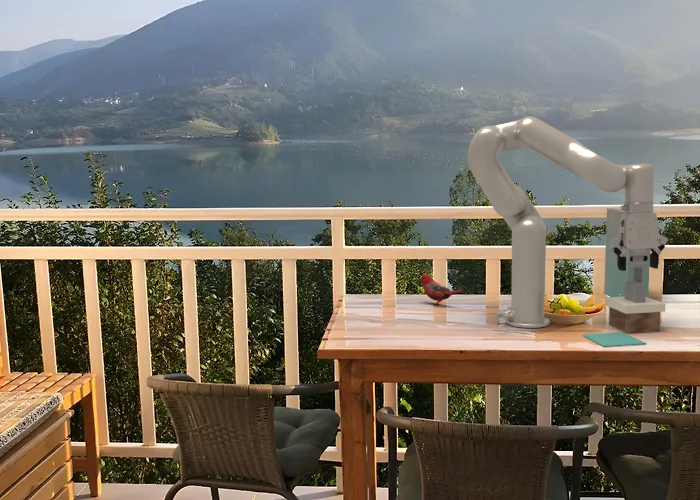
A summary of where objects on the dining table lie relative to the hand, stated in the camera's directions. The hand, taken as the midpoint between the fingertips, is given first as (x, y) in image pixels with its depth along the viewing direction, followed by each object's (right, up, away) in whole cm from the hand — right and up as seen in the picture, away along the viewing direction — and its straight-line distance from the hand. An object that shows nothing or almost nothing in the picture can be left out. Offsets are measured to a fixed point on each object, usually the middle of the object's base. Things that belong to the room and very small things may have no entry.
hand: (638, 269), depth 221 cm
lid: (0, -11, +2) cm, 11 cm away
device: (+11, -11, +42) cm, 45 cm away
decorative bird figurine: (-52, -13, +35) cm, 64 cm away
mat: (-10, -19, -10) cm, 24 cm away
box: (0, -17, +3) cm, 17 cm away
